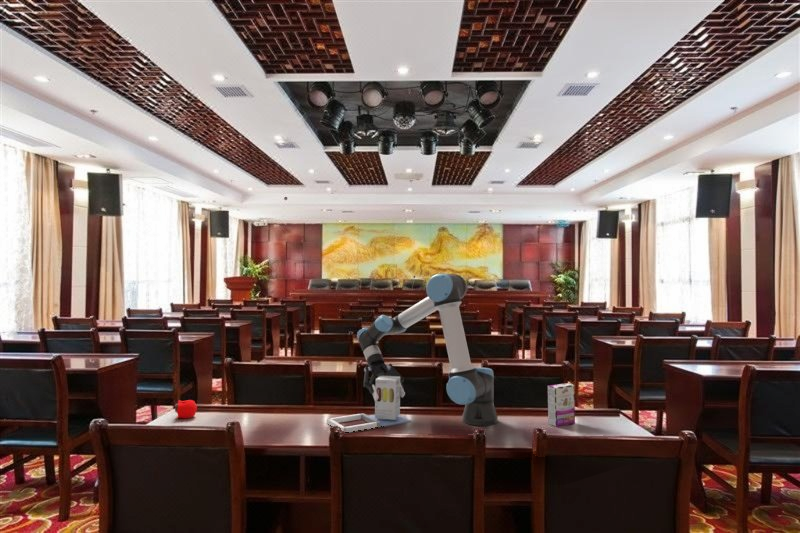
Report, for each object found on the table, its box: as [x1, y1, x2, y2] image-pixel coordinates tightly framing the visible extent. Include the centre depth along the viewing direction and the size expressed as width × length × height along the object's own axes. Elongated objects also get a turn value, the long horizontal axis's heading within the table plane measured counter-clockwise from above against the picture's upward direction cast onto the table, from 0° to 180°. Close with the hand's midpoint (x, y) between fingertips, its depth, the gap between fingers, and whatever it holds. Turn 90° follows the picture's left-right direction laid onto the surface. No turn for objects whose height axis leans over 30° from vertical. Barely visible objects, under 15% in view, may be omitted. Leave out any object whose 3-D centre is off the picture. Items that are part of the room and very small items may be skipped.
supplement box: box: [374, 375, 401, 420], centre depth 209 cm, size 10×9×17 cm
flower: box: [176, 399, 198, 419], centre depth 211 cm, size 8×8×8 cm
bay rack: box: [326, 412, 412, 433], centre depth 204 cm, size 16×32×2 cm, turn 122°
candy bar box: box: [547, 382, 576, 428], centre depth 204 cm, size 11×5×16 cm, turn 117°
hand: (390, 397), depth 207 cm, fingers closed on supplement box, 13 cm apart
